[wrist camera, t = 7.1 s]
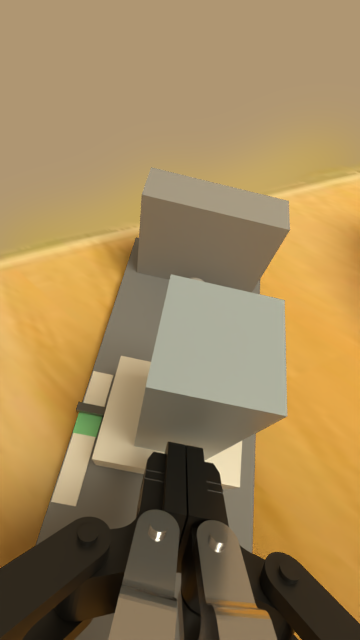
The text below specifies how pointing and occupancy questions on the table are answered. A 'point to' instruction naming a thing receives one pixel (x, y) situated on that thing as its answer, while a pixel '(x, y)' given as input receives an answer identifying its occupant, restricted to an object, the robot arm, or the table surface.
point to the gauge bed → (141, 332)
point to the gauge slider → (198, 380)
